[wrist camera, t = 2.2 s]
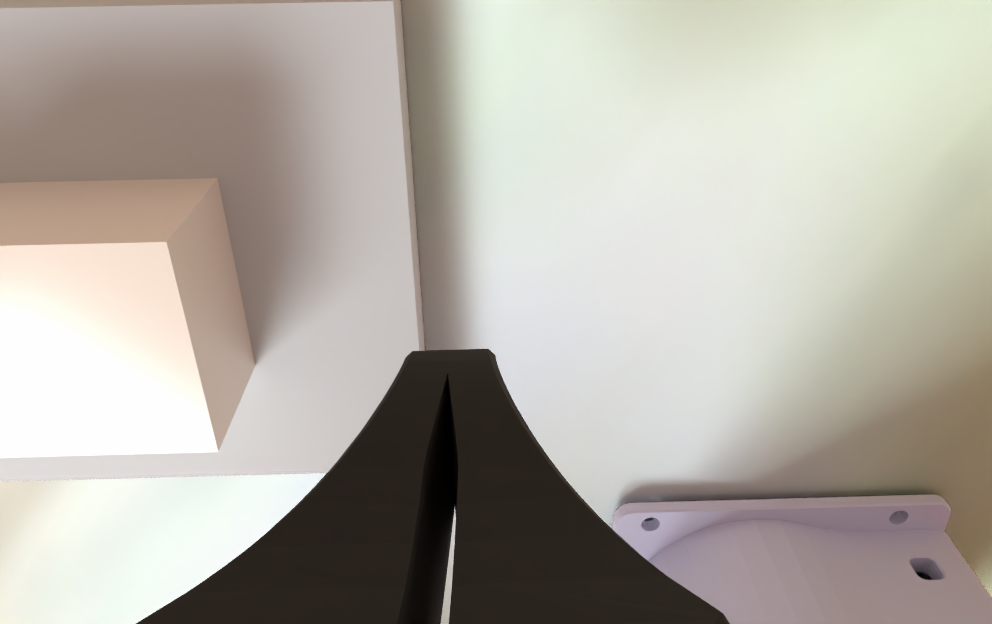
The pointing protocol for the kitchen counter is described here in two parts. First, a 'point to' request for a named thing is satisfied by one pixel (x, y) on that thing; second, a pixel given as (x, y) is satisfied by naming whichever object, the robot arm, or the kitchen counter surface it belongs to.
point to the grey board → (243, 191)
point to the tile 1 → (118, 318)
